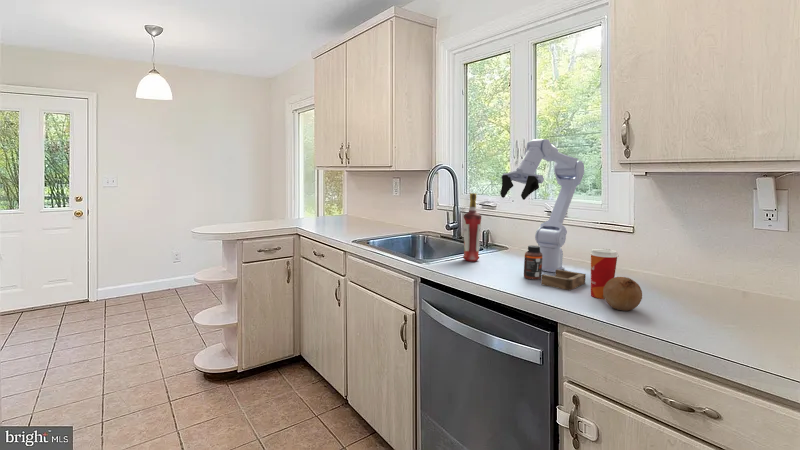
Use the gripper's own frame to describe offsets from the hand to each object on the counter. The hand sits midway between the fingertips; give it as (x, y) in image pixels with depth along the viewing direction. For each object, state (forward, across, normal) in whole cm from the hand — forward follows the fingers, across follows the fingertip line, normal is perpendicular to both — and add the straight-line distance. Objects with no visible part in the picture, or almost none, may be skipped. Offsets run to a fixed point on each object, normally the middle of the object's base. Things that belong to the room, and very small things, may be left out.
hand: (512, 196), depth 139 cm
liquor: (+9, -28, +34) cm, 45 cm away
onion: (+22, +37, +16) cm, 47 cm away
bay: (+13, +15, +27) cm, 34 cm away
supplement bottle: (+14, +4, +27) cm, 31 cm away
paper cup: (+17, +29, +22) cm, 41 cm away
